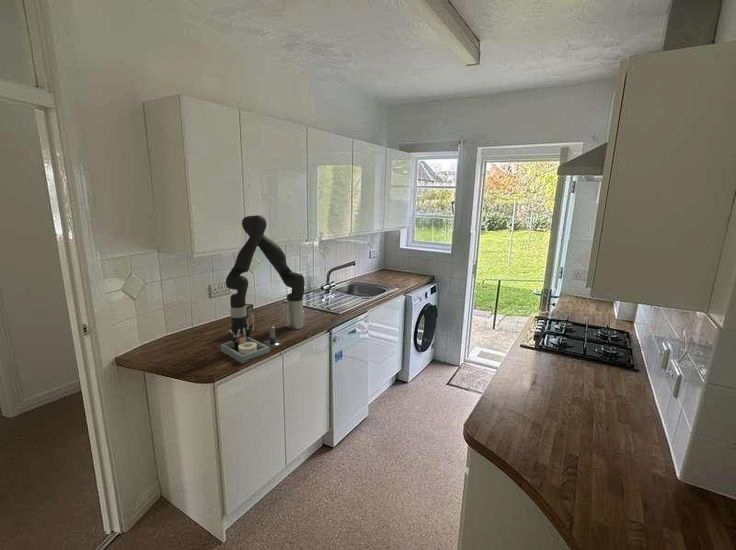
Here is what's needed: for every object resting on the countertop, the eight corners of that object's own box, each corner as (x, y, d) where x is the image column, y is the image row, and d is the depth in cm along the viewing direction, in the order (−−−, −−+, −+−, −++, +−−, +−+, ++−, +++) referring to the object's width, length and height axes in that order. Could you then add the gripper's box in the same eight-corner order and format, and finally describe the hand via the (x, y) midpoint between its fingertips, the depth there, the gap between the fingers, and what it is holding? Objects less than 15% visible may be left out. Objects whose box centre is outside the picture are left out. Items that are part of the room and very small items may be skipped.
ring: (245, 342, 187) (245, 333, 186) (260, 350, 178) (259, 340, 177) (230, 347, 180) (229, 338, 179) (244, 355, 172) (244, 345, 171)
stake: (275, 339, 197) (274, 322, 195) (286, 344, 190) (285, 326, 188) (259, 344, 189) (258, 326, 187) (270, 350, 183) (269, 331, 181)
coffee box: (246, 336, 200) (245, 308, 197) (236, 335, 201) (234, 307, 198) (254, 330, 209) (253, 304, 205) (244, 329, 210) (243, 303, 207)
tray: (248, 342, 192) (247, 336, 191) (269, 353, 179) (269, 347, 178) (221, 351, 181) (220, 344, 180) (242, 363, 168) (241, 356, 167)
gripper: (247, 309, 186) (248, 341, 190) (221, 316, 176) (223, 349, 180) (255, 313, 182) (256, 345, 185) (229, 319, 171) (231, 353, 175)
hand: (240, 346), depth 182 cm, fingers closed on ring, 3 cm apart
